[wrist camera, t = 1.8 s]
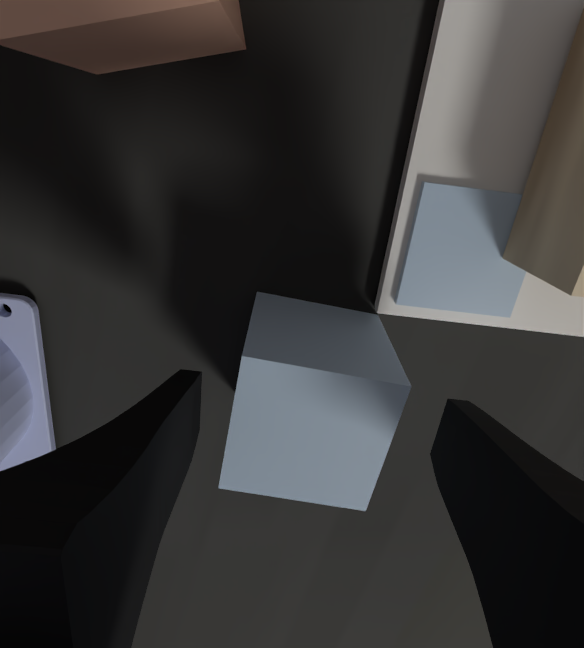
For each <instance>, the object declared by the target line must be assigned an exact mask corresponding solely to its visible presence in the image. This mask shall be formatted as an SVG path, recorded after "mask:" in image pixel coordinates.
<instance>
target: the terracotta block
mask: <svg viewBox="0 0 584 648" xmlns="http://www.w3.org/2000/svg"><path fill="white" fill-rule="evenodd" d="M0 45H1V46H4V47H8V48H11V49H14V50H18V51H21V52H24V53H27V54H31V55H34V56H37V57H41V58H44V59H47V60H51V61H54V62H57V63H60V64H64V65H67V66H70V67H74V68H77V69H80V70H83V71H87V72H90V73H93V74H103V73H109V72H115V71H121V70H127V69H133V68H139V67H145V66H151V65H157V64H162V63H168V62H174V61H180V60H186V59H192V58H198V57H204V56H210V55H216V54H222V53H227V52H233V51H239V50H245V49H246V44H245V38H244V32H243V25H242V19H241V13H240V6H239V0H0Z"/></svg>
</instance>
